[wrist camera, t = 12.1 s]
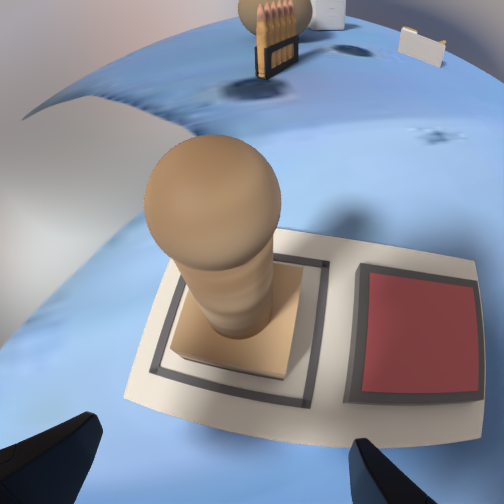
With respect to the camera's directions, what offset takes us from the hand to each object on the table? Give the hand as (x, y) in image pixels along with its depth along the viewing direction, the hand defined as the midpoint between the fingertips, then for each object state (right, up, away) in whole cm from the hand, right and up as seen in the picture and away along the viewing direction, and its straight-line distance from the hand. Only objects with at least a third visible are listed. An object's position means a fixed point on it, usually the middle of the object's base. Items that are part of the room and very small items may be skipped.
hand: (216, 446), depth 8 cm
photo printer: (+20, +63, +48) cm, 82 cm away
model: (+40, +51, +39) cm, 76 cm away
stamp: (+1, +2, +8) cm, 9 cm away
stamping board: (+6, +1, +9) cm, 11 cm away
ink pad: (+11, +1, +7) cm, 13 cm away
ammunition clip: (+5, +35, +31) cm, 47 cm away
